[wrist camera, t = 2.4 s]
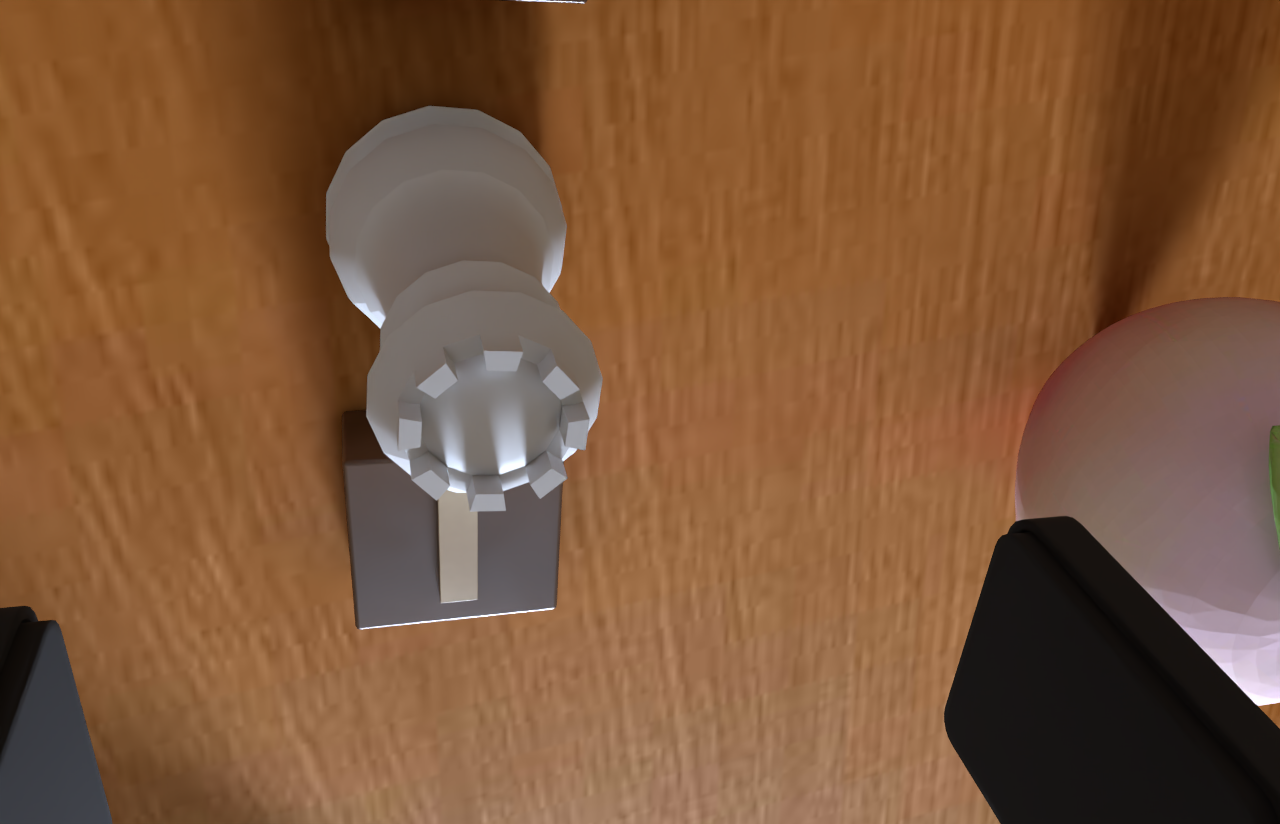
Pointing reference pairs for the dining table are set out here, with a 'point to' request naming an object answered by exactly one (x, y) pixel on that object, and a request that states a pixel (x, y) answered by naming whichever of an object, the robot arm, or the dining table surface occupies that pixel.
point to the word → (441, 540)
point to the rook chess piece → (463, 303)
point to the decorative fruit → (1176, 468)
